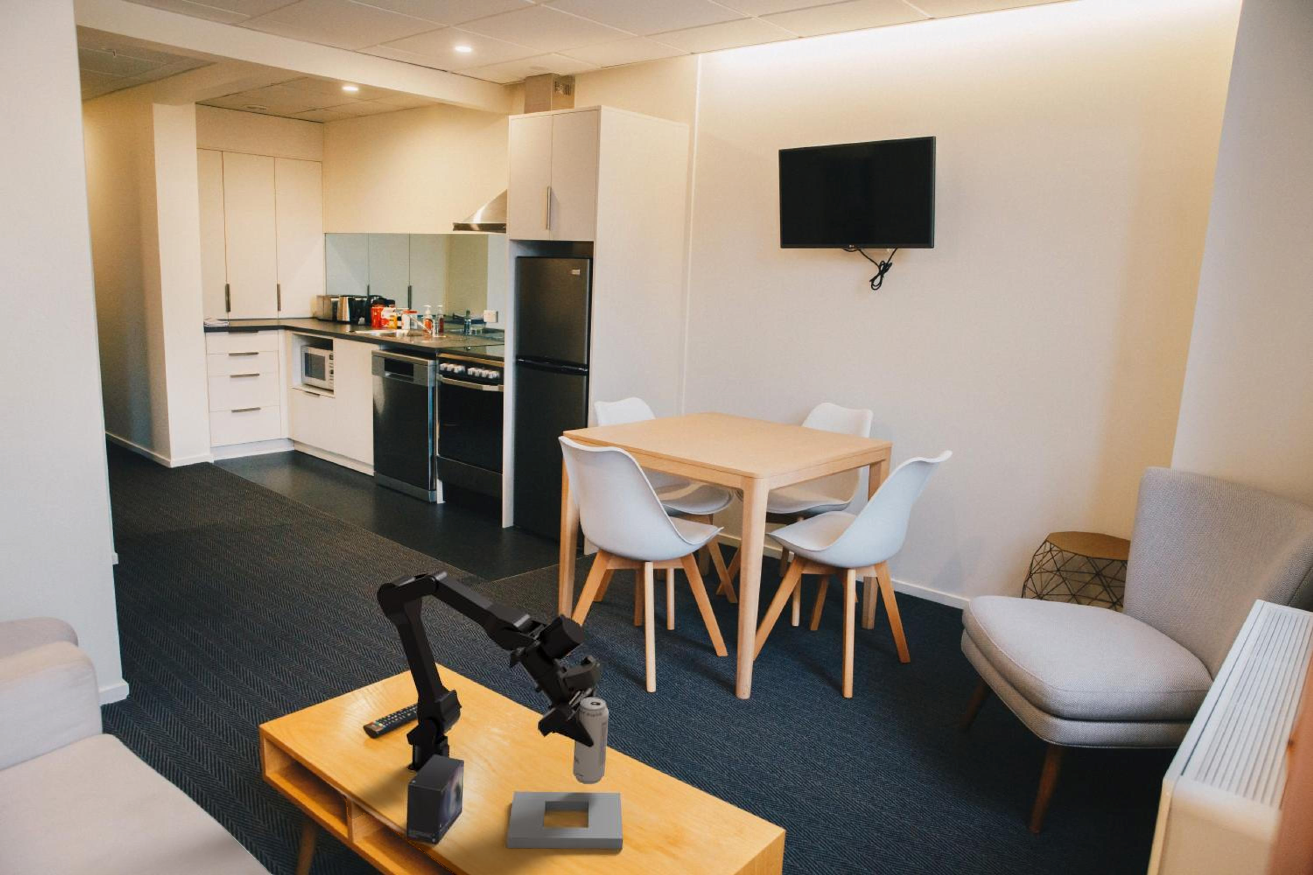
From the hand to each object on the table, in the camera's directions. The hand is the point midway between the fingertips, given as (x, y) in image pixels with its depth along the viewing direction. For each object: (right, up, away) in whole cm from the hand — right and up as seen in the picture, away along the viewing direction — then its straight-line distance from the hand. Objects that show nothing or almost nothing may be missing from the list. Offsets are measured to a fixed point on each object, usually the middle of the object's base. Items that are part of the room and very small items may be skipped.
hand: (598, 737), depth 164 cm
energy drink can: (-2, -8, +2) cm, 9 cm away
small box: (-29, -13, -7) cm, 32 cm away
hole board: (-5, -14, -5) cm, 16 cm away
